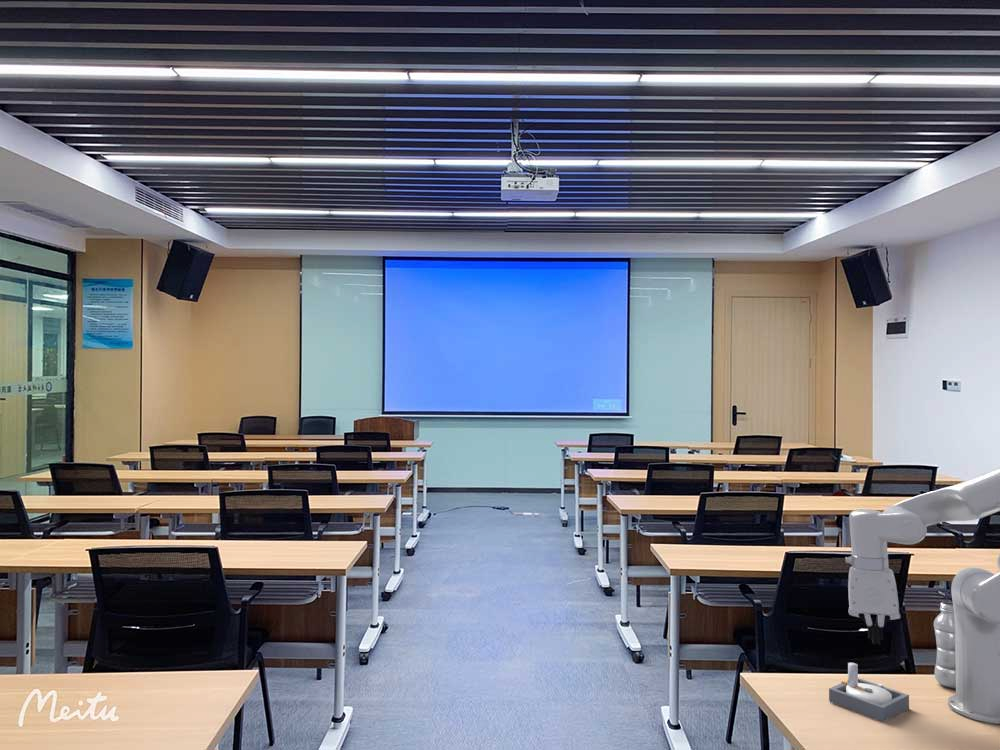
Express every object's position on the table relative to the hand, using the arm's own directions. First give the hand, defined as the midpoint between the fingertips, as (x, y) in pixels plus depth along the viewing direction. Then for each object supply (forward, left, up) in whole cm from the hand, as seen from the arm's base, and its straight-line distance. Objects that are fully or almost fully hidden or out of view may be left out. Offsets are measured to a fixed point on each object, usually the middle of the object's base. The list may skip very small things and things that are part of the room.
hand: (876, 642), depth 158 cm
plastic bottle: (-23, +7, -13) cm, 27 cm away
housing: (+5, +1, -13) cm, 14 cm away
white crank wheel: (+5, +1, -12) cm, 13 cm away
